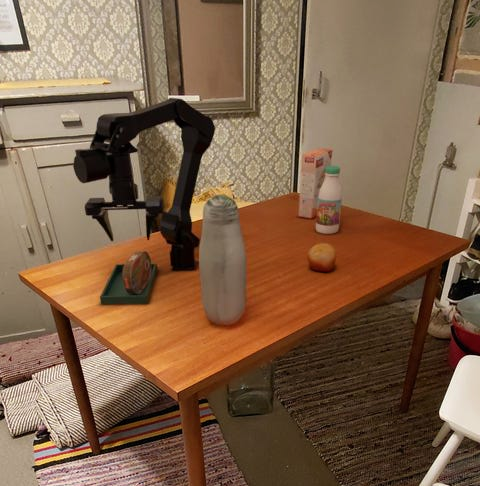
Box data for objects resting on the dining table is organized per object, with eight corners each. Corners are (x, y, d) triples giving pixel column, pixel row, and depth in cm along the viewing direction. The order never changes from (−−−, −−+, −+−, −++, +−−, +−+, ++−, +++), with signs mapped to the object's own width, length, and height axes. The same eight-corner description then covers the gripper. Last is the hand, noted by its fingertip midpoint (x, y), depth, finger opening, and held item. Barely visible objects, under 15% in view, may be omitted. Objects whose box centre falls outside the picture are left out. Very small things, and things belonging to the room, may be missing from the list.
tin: (135, 300, 124) (130, 268, 119) (123, 299, 124) (118, 267, 119) (154, 276, 136) (150, 246, 131) (143, 275, 136) (139, 246, 131)
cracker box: (312, 219, 176) (317, 155, 163) (297, 217, 178) (300, 154, 166) (327, 209, 185) (333, 148, 173) (313, 207, 188) (317, 147, 175)
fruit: (340, 259, 141) (339, 240, 134) (332, 281, 139) (330, 263, 132) (313, 255, 144) (311, 236, 137) (305, 276, 141) (302, 258, 134)
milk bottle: (315, 226, 169) (320, 164, 157) (338, 227, 168) (344, 164, 156) (315, 234, 163) (320, 169, 151) (338, 234, 162) (345, 170, 150)
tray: (157, 270, 140) (156, 263, 138) (147, 304, 123) (146, 295, 121) (117, 271, 140) (115, 264, 138) (101, 304, 123) (99, 296, 121)
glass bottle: (250, 328, 112) (250, 201, 95) (206, 333, 110) (198, 205, 94) (241, 309, 120) (240, 188, 103) (200, 314, 118) (191, 192, 101)
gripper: (163, 166, 123) (169, 229, 132) (88, 168, 123) (100, 231, 132) (158, 177, 114) (165, 243, 123) (78, 179, 114) (91, 245, 123)
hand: (130, 240), depth 126 cm, fingers open, 9 cm apart
